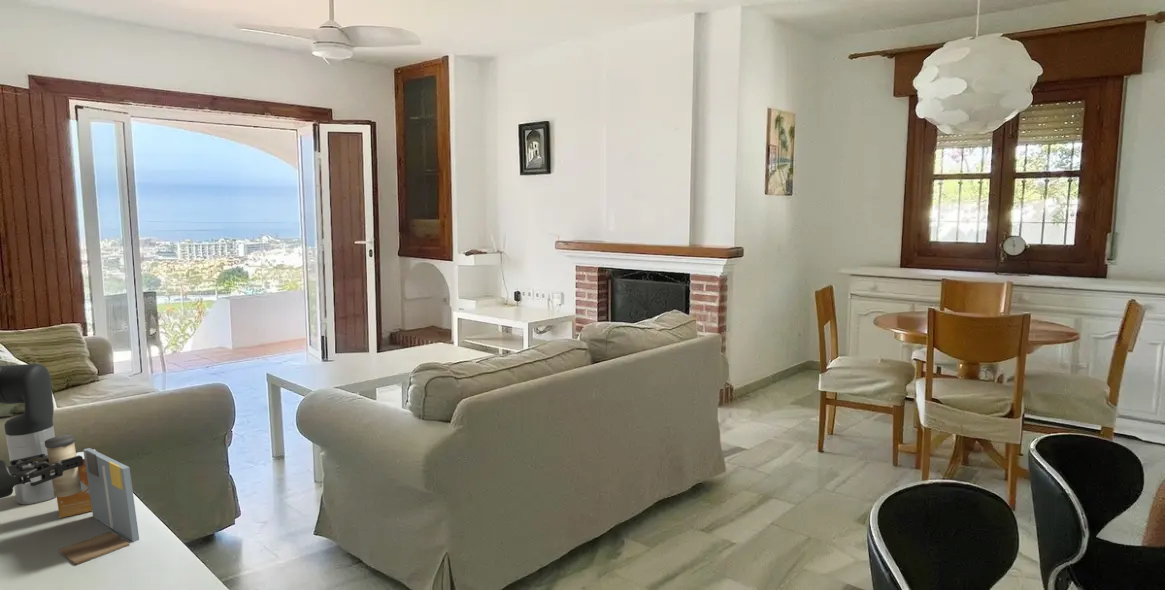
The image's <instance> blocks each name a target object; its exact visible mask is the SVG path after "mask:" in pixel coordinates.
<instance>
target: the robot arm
mask: <svg viewBox="0 0 1165 590" xmlns="http://www.w3.org/2000/svg"><path fill="white" fill-rule="evenodd" d="M53 399H54V397H53V386H52V377H51V374H50V372H49V370H48V368H47V367H46V366H45V365H43V364H40V363H29V364H28V363H27V364H10V365H0V404H6V405H8V404H9V405H11V404H12V405H13V404H24V412H23V413H22V414H19V415H17V416H14V417H12V418H10V419H7V420H6V422H5V423H4V433H5V439H6V445H7V451H8V458H9V462H10V463H9V464H8V463H7V462H6V461H4V460H2V459H0V499H4V498H7V497H10V496H11V495H12V494H13V492H14V495H15V501H16V503H17V504H19V505H20V504H21V505H31V504H36V503H41V502H45V501H48V500H52V499H54V498H56V497H55V496H54V491H53V485H52V479H54V478H57V477H60V476H62V475H63V471H65V470H69V469H72V468H76V467H79V466H82V465H83V457H82V456H75V457H72V458H68V459H65V460H61V461H56V462H51V463H49V459H48V453H47V448H46V447H45V441H46V440H48V439H50V438H53V437H56V435H55V428H54V421H53V420H54V411H55V410H54V400H53ZM53 469H55V471H51V470H53ZM50 471H51V472H50Z"/></svg>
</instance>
